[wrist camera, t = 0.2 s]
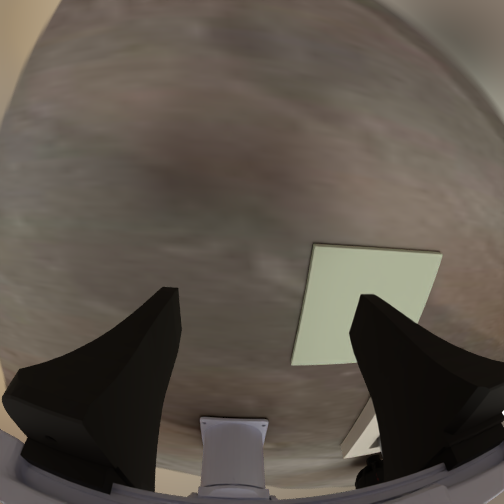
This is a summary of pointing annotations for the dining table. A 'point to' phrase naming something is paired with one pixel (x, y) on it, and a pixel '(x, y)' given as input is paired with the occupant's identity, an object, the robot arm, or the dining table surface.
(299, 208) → the dining table surface
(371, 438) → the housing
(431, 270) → the mat
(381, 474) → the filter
